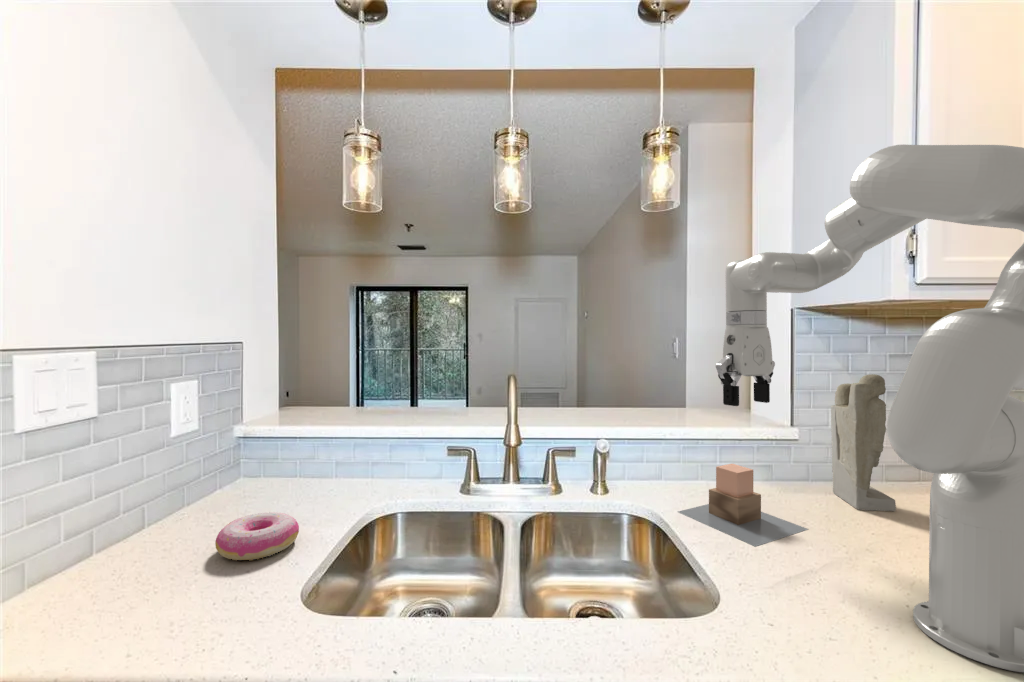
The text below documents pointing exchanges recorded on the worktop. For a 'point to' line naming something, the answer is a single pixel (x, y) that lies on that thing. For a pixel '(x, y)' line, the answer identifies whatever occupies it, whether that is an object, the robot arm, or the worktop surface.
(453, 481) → the worktop surface
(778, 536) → the slate board
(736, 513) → the walnut base
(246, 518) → the donut
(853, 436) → the sculpture
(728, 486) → the terracotta cube
